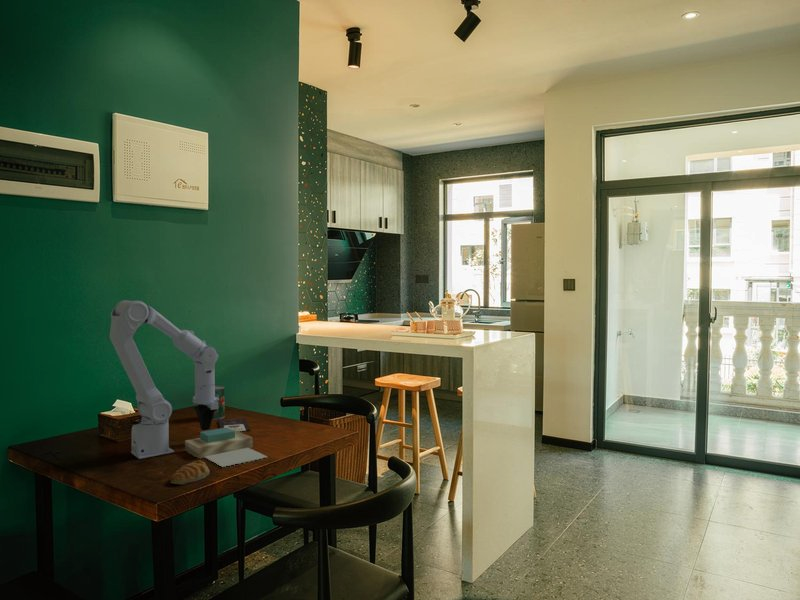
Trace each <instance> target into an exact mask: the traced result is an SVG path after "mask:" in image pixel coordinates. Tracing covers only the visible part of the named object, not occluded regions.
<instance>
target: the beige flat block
mask: <svg viewBox="0 0 800 600" xmlns="http://www.w3.org/2000/svg"><path fill="white" fill-rule="evenodd" d="M253 441H254V440H253V437H252V436H250V435H247V434H245V433H244V432H238V431H235V438H232V439H227V440H222V441H217V442H211V443H207V442H205V441H203V440H202V439H200V437H199V438H198V437H197V438H191V439H187V440H184V449H185V450H184V451H185V452H186V451H187V452H186V453H188V454H190V455H191V454H192V456H193V457H195V458H196V457H197V458H196V459H199V458H200V459H205V458H204V456H209V455H214V454H219V453H224V452H229V451H234V450H239V449H243V448H250V449H252V447H254V446H253V445H254V443H253ZM200 459H199V460H200Z"/></svg>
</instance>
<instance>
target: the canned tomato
mask: <svg viewBox="0 0 800 600" xmlns="http://www.w3.org/2000/svg"><path fill="white" fill-rule="evenodd" d="M215 397H217V398H219V400H217V401H216V402H218V409H216V411H215V412H214V415H213V417H212V421H218V420H217V419H219V420H223V419H224V418H225V417H226V416H225V413H226V412H225V407H226V406H225V386H223V385H215Z"/></svg>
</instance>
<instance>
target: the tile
mask: <svg viewBox="0 0 800 600" xmlns="http://www.w3.org/2000/svg"><path fill="white" fill-rule="evenodd" d="M199 438H200V439H202V440H203V441H205V442H207V443H211V442H217V441H222V440H227V439H232V438H235V431H233V430H231V429H229V428H227V427H226V428H220V427H219V428H215V429H209V430H202V431H200V432H199Z"/></svg>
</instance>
